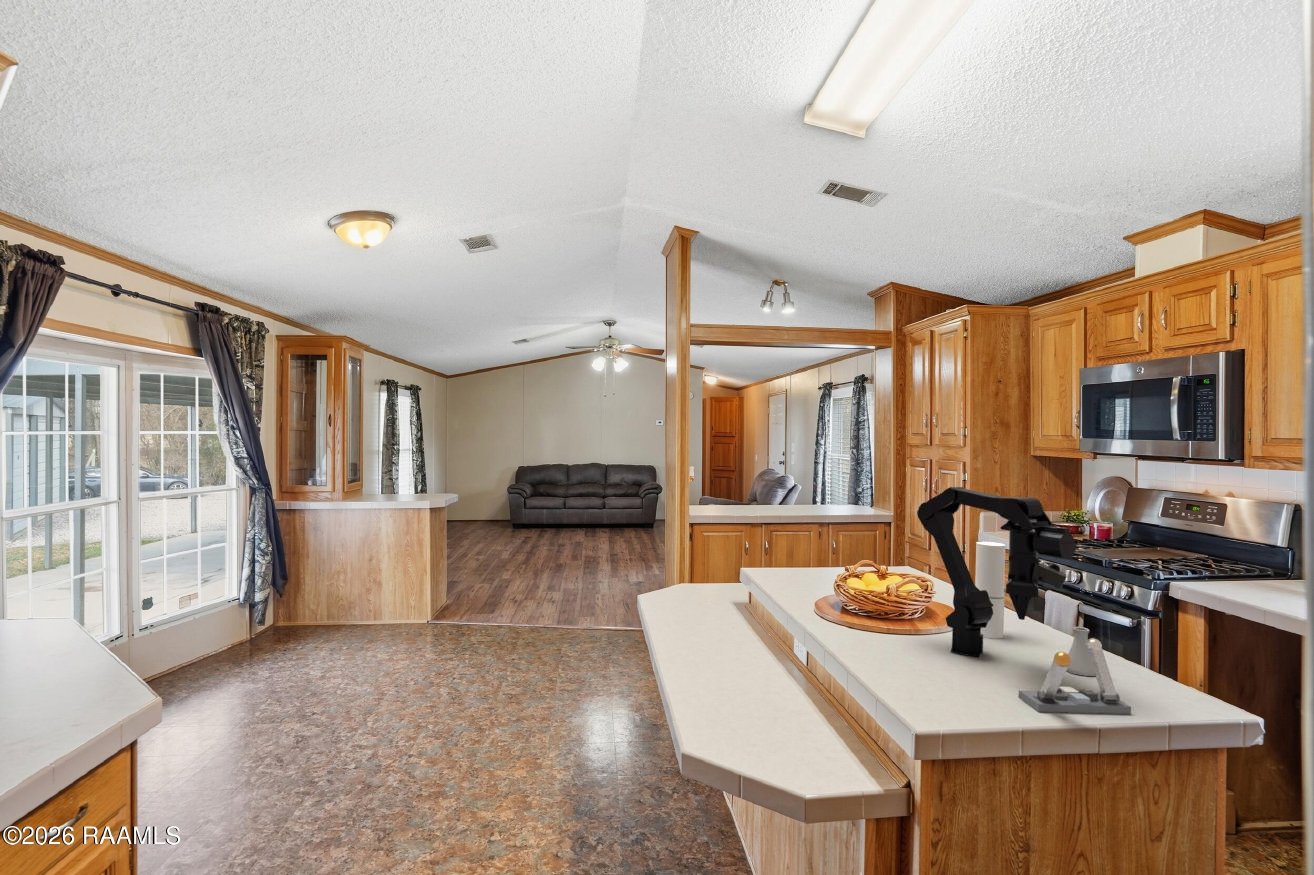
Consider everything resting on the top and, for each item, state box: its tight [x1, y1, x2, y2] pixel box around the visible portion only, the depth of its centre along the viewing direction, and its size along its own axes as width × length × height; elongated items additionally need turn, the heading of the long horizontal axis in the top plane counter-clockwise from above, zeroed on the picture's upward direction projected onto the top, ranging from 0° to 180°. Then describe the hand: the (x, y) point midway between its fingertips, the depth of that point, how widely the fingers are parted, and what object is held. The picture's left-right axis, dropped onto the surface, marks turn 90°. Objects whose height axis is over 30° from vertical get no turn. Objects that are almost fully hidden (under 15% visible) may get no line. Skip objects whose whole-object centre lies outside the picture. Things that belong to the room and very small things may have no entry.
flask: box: [1066, 626, 1096, 677], centre depth 149 cm, size 7×7×10 cm
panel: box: [1018, 686, 1132, 715], centre depth 129 cm, size 7×18×3 cm, turn 90°
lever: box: [1086, 637, 1121, 702], centre depth 130 cm, size 3×3×12 cm
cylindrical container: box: [974, 541, 1006, 640], centre depth 176 cm, size 7×7×25 cm
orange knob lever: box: [1037, 651, 1071, 700], centre depth 125 cm, size 3×3×12 cm
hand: (1021, 619), depth 148 cm, fingers closed
